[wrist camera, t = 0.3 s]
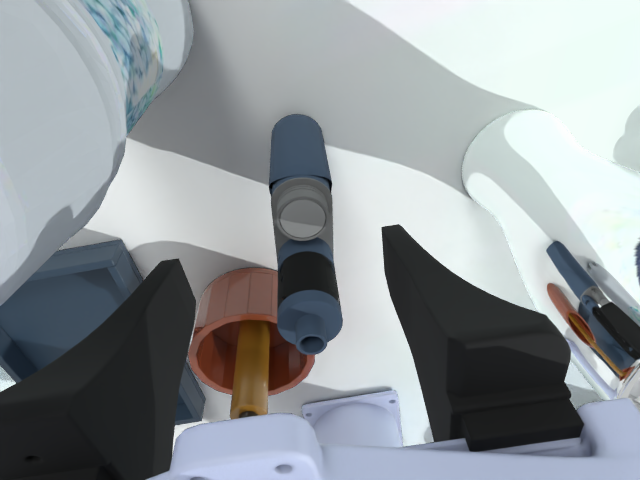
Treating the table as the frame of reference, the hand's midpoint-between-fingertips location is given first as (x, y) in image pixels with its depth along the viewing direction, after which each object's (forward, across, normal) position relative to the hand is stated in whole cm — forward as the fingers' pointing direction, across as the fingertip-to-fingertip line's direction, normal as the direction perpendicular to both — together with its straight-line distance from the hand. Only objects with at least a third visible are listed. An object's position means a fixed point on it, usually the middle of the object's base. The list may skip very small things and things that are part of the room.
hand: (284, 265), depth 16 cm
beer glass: (+10, -13, +3) cm, 17 cm away
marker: (+10, +4, +11) cm, 15 cm away
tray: (+10, +16, +12) cm, 22 cm away
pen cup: (+10, +4, +11) cm, 16 cm away
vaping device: (+7, -1, 0) cm, 7 cm away
